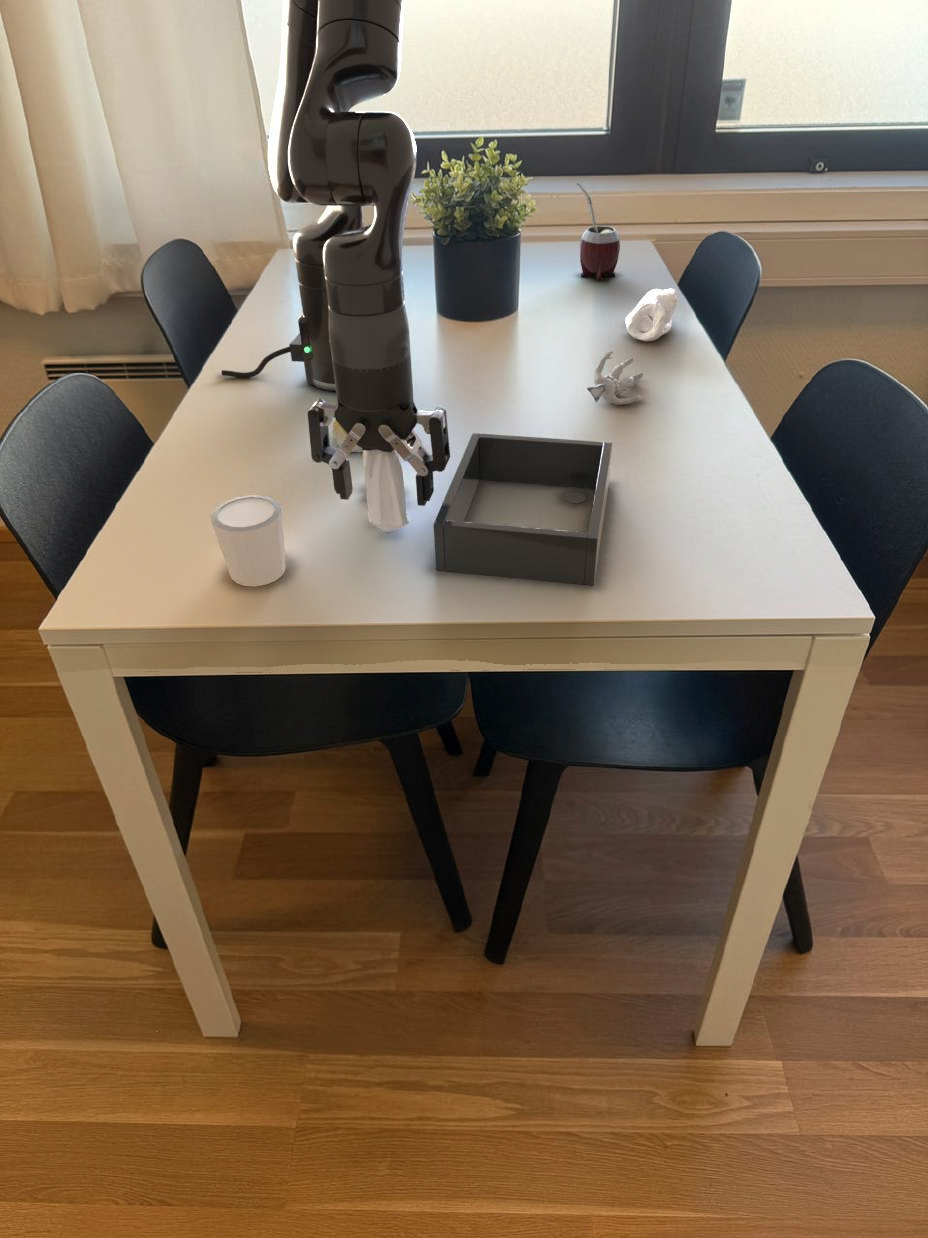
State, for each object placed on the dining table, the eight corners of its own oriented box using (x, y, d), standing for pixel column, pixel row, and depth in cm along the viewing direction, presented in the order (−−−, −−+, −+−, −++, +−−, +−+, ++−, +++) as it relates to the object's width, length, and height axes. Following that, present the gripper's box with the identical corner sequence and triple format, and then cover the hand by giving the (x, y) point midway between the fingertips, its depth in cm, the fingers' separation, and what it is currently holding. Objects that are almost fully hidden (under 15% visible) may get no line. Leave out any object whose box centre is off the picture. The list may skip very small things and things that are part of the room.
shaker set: (410, 539, 95) (403, 445, 88) (370, 543, 94) (360, 449, 87) (400, 484, 104) (393, 395, 97) (365, 487, 104) (355, 398, 97)
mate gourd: (619, 281, 160) (626, 191, 151) (575, 282, 160) (580, 192, 151) (614, 268, 166) (621, 181, 157) (572, 269, 166) (576, 182, 157)
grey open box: (435, 570, 90) (433, 524, 87) (473, 474, 105) (472, 432, 102) (593, 585, 87) (597, 538, 84) (608, 485, 103) (612, 442, 99)
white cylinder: (228, 554, 93) (215, 496, 89) (294, 549, 94) (284, 491, 89) (219, 592, 88) (205, 533, 84) (289, 587, 88) (278, 528, 84)
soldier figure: (655, 392, 125) (636, 399, 114) (627, 412, 127) (606, 421, 117) (625, 346, 124) (603, 348, 114) (597, 367, 127) (573, 372, 116)
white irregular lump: (650, 314, 147) (685, 276, 141) (666, 367, 141) (704, 329, 135) (609, 297, 143) (643, 256, 137) (625, 350, 137) (661, 310, 131)
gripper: (452, 339, 86) (457, 486, 96) (312, 332, 88) (331, 476, 99) (435, 370, 80) (442, 523, 90) (286, 361, 83) (309, 511, 93)
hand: (384, 498), depth 94 cm, fingers open, 8 cm apart
